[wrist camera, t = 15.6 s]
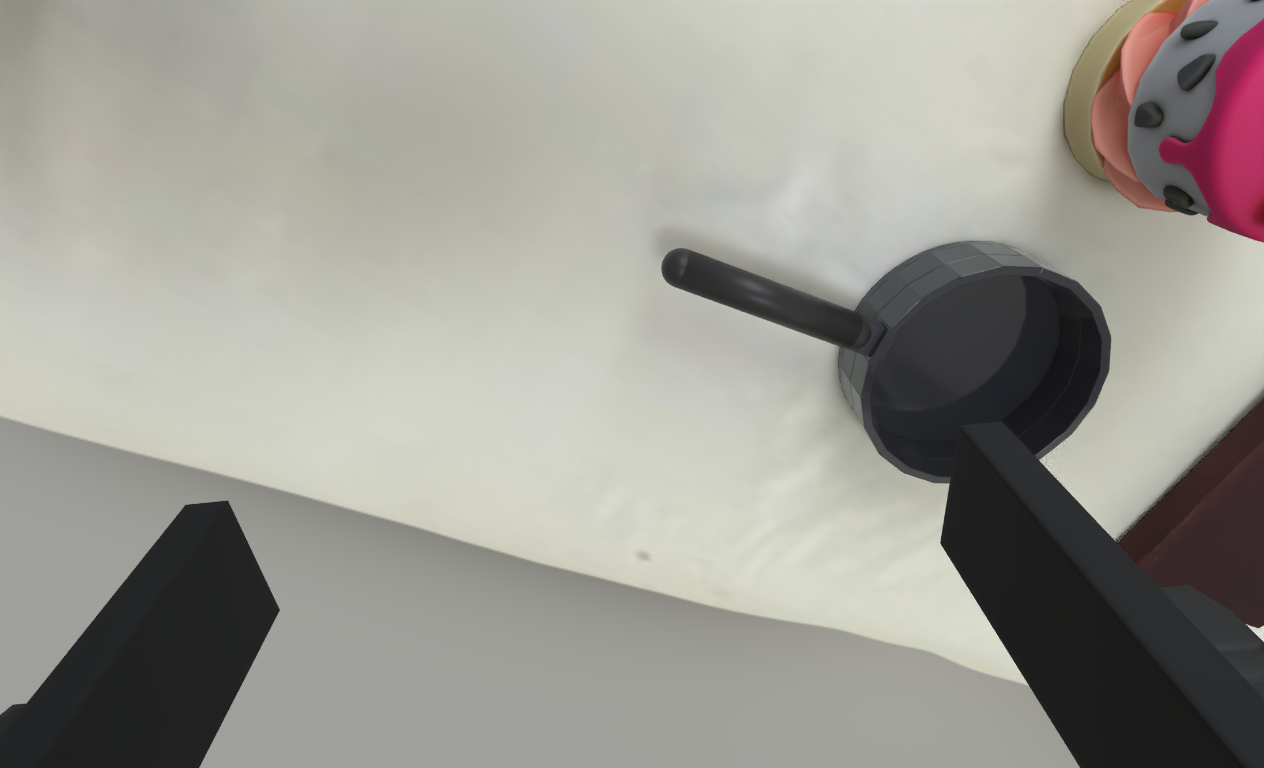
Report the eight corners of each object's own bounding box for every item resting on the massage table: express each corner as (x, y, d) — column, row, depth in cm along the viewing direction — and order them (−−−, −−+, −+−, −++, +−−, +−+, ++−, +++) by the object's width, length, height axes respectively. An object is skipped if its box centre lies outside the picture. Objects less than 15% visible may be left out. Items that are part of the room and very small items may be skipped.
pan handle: (890, 320, 39) (904, 335, 37) (872, 351, 40) (884, 367, 38) (668, 237, 36) (672, 249, 34) (654, 272, 37) (656, 286, 35)
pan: (1110, 287, 41) (1164, 317, 37) (978, 466, 47) (1013, 509, 43) (913, 205, 38) (949, 228, 34) (799, 406, 44) (818, 445, 40)
